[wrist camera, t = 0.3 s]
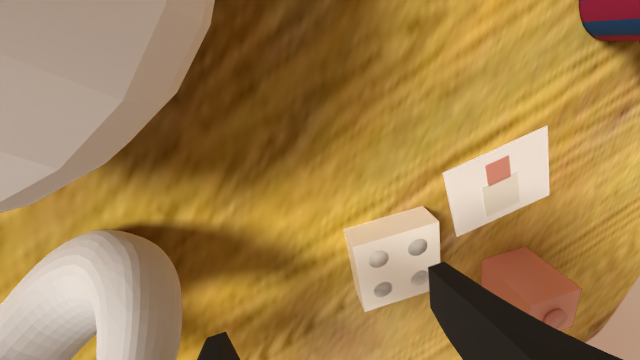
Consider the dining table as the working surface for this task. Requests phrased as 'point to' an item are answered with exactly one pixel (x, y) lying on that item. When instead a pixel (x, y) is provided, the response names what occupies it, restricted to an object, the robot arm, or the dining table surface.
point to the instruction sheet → (498, 181)
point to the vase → (85, 83)
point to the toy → (95, 302)
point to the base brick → (393, 256)
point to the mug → (611, 19)
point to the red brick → (532, 286)
